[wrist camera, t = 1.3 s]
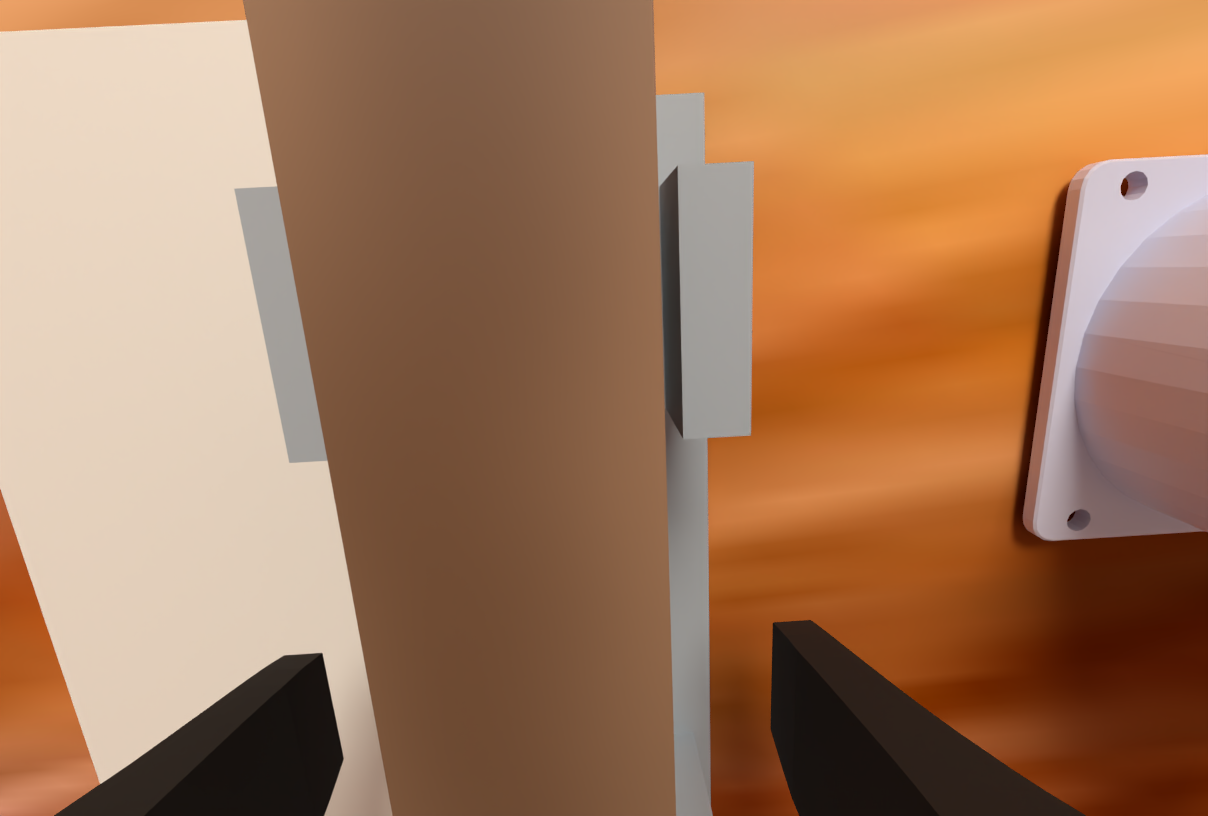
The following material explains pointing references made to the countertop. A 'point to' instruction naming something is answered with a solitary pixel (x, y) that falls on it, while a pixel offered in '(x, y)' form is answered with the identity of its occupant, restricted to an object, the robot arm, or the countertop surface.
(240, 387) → the mat
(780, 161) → the countertop surface
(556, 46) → the rail
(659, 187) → the rack
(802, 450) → the countertop surface
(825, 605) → the countertop surface
